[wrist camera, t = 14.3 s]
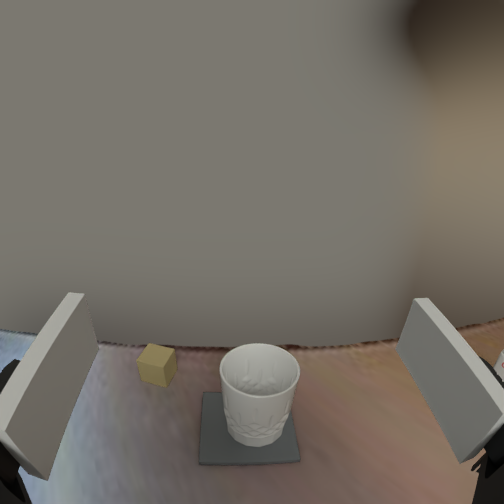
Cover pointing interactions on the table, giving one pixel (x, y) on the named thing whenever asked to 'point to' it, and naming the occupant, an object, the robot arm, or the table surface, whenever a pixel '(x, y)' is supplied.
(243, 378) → the white cup
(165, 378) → the mustard block
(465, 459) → the robot arm
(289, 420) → the slate coaster
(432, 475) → the table surface
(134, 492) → the table surface
